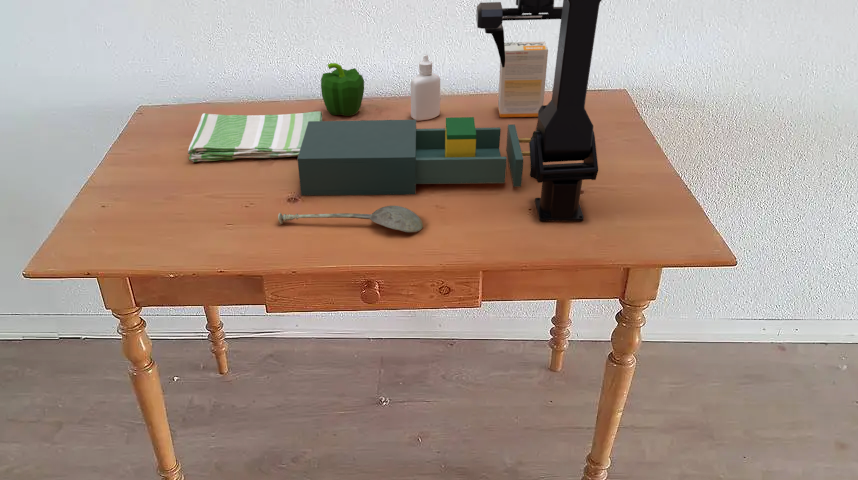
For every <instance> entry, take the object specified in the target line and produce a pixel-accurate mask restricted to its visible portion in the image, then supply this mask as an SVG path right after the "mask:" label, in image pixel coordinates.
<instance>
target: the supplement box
mask: <svg viewBox="0 0 858 480" xmlns="http://www.w3.org/2000/svg"><path fill="white" fill-rule="evenodd" d="M504 45H505V67H502V64H501V60H500V59H499V64H500V65H499V80H498V98H497V99H498V100H497V101H498V102H497V110H498V115H499V118H533V117H534V118H538V111H539V109H540V107H541V106H542V105H545V93H546V92H545V91H546V80H547V70H548V69H547V67H548V55H549V49H548V46H547V42H546V41H515V42H514V41H513V42H504Z"/></svg>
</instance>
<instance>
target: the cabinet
mask: <svg viewBox="0 0 858 480" xmlns="http://www.w3.org/2000/svg"><path fill="white" fill-rule="evenodd" d="M416 129H417V120H415V119H372V120H371V119H369V120H366V119H365V120H363V119H361V120H322V121H308V125H307V128H306V131H305V135H304V138H303V142H302V145H301V148H300V152H299V155H298V156H297V168H298V177H299V187H300V196H385V195H387V196H388V195H389V196H391V195H392V196H393V195H394V196H397V195H399V196H400V195H401V196H402V195H404V196H405V195H407V196H408V195H416V194H417V184H416Z"/></svg>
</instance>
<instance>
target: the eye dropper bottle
mask: <svg viewBox="0 0 858 480" xmlns="http://www.w3.org/2000/svg"><path fill="white" fill-rule="evenodd" d="M440 114H441V78H440V76H439V75H438V74H436V73H433V62H432V61H431V60H430V59H429V55H428V54H423V58H422V60H421V61H420V62H419V63H418V74H417V75H415V76H414V77H413V78H412V79H411V81H410V117H411V119H412V120H416V122H420V121H428V120H431V119H435V118H436V117H438V116H440Z"/></svg>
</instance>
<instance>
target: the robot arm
mask: <svg viewBox="0 0 858 480" xmlns="http://www.w3.org/2000/svg"><path fill="white" fill-rule="evenodd" d="M602 1H603V0H562V6H555V0H515V5H516V6H517V7H503V6H502V2H501V1H492V2H491V1H490V2H487V1H486V2H479V4H477V6H476V9H475V10H476V14H475V17H476V18H475V21H476V26H477V29H482V30H483V29H484V32H485V34H487V35H489V34H490V35H491V36H492V38H493V40H494V43H495V45H496V48H497V52H498V55H499V61H500V60H501V64H502V67H505V45H504V43H505V30H504V26H503V21H504V22H505V21H507V22H508V21H541V20H560V26H559V33H558V41H557V42H558V43H557V52H556V60H555V68H554V76H553V77H554V78H553V85H552V92H551V93H552V94H551V99H550V101H549V102H548V104H546V105H545V104H543V105H542V106H541V107H540V109H539V111H538V117H537V122H536V128H535V130H534V131H533V132H532V136H531V137H530V138H531V141H530V142H529V143H528V144H529V146H528V147H529V151H530V156H529V163H530V165H529V166H530V168H529V177H530V178H531V179H534V180H536V183H538V184H541V190H540V197H535V198H534V205H535V209H536V212H537V217H538V221H540V222H583V221H584V220H585V215H584V214H583V211H582V210H583V209H582V208H581V204H580V202H581V201H580V200H581V192H582V185H583V181H590V180H591V181H596V180H597V176H598V174H599V163H598V162H599V161H598V155H597V145H596V136H595V132H594V124H593V122H592V120H591V119H590V116H589V115H588V113H587V111H586V100H587V92H588V87H589V79H590V72H591V65H592V59H593V51H594V45H595V37H596V30H597V24H598V18H599V10H600V6H601V5H600V4H601V2H602ZM577 161H579V162H577ZM580 161H583V162H580ZM558 162H565V163H558ZM566 162H570V163H566ZM544 163H546V164H544ZM547 163H552V164H547Z"/></svg>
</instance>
